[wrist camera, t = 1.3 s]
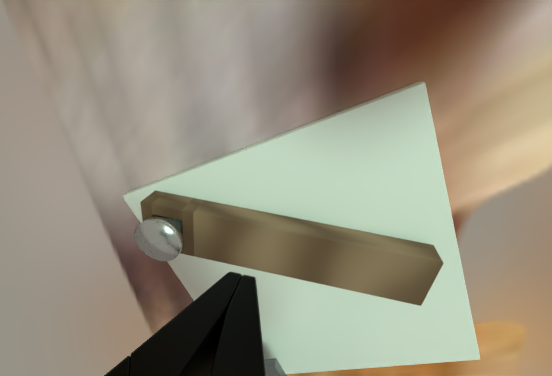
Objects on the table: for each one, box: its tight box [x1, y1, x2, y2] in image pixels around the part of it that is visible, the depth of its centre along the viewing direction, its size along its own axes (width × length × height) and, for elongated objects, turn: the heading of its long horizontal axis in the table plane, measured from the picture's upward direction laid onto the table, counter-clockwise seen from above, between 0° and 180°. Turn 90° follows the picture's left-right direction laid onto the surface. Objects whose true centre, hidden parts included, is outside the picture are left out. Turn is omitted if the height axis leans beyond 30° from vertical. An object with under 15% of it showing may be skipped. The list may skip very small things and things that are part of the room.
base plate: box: [122, 81, 480, 374], centre depth 21 cm, size 23×22×4 cm
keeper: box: [264, 358, 287, 376], centre depth 26 cm, size 4×6×3 cm, turn 113°
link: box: [140, 190, 443, 306], centre depth 19 cm, size 20×4×2 cm, turn 83°
